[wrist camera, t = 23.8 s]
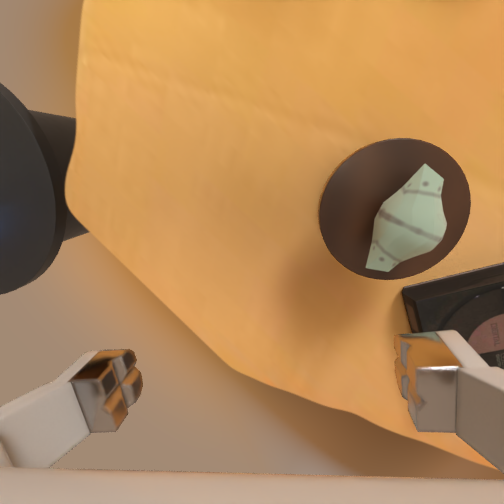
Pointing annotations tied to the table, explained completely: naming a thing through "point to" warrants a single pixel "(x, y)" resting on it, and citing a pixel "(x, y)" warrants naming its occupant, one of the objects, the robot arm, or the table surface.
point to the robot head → (408, 222)
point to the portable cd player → (463, 309)
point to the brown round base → (379, 190)
